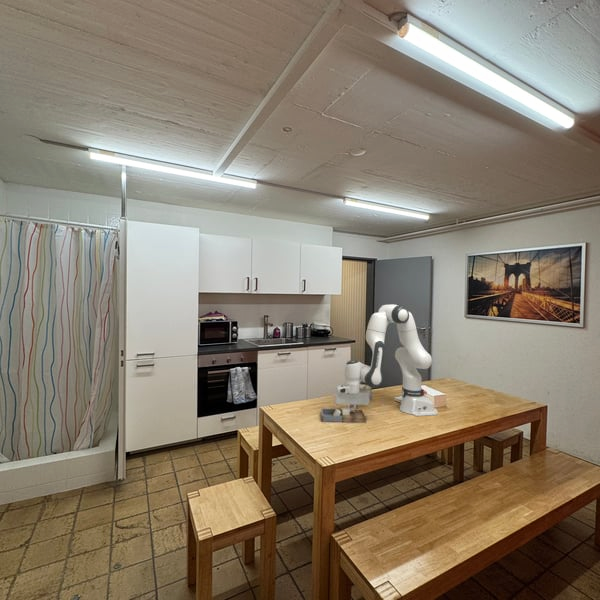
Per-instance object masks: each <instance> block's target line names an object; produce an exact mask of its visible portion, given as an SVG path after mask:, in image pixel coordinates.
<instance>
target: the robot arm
mask: <svg viewBox="0 0 600 600" xmlns="http://www.w3.org/2000/svg"><path fill="white" fill-rule="evenodd" d="M390 323H391V324H393V323H394V324H396V328H397V333H398V334H397V335H398V337H399V338H398V339H399V342H400V343H401V345H402V347H398V348H397V349H396V351H395V353H394V358H395V360H396V361H397V363H398V364H399V366H400V370H401V373H402V387H401V402H400V406H399V410H400V411H401V412H403V413H405V414H407V415H411V416H415V417H422V416H437V415H439V411H438V410H437V409H436V407H435V406H434V403H433V401H432V400H431V399H430V398H428V397H427V396H426V395H427V394H428V391H427V390H425V389H424V388H422V381H423V380H422V375H421V374H420V373H419V371H418V370H419V369H420V370H422V369H423V370H427V369H429V368H430V367H431V366H432V363H433V359H432V356H431V354H430V353H428V351H427V350H426V349H425V348H424V346H423V345H422V342H421V340H420V338H419V334H418V329H417V326H416V325H417V324H416V322H415V318H414V316H413V314H412V312H410V311H409V310H408V308H406V307H405V306H403V305H397V304H395V303H394V304H392V303H391V304H387V303H386V304H385V303H384V304H381V305H380V306H379V307H378V308H377V309H376V311H375V312H374V313H373V314H371V316H370V318H369V321H368V324H367V329H366V332H365V340H366V342H367V344H368V346H369V347H370V349H371V351H372V357H371V364H370V365H367V364H364V363H362V362H360V360H359V359H358V360H356V359H350V360H348V361H347V362H346V363H345V366H344V367H345V368H344V377H345V378H344V379H345V380H344V383H343V384H340V385H337V386H336V391H335V393H334V404H335V405H345V406H347V408H349V410H350V412H354V410H356V409H357V408H356V405H362V406H368V405H370V401H369V395H370V391H369V390H368V389H362V388H360V384H361V383H364V384H365V385H368V386H369V387H371V388H372V389H374V388H375V389H376V388H378V387H380V385H381V384H382V383H383V379H384V376H383V365H384V357H385V348H386V347H385V338H386V334H387V333H386V332H387V327H388V326H389V324H390ZM417 369H418V370H417ZM350 405H354V407H351V406H350Z"/></svg>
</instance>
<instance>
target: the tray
mask: <svg viewBox="0 0 600 600" xmlns="http://www.w3.org/2000/svg"><path fill="white" fill-rule="evenodd" d="M320 409H321V411H320V415H321V420H322V421H321V422H322V423H343V421H342V416H341V415H340V416H334V415H333V414H334V412H335V410H336V408H320ZM338 409H339V410H340V409H341V408H338Z"/></svg>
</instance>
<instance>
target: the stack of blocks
mask: <svg viewBox="0 0 600 600" xmlns="http://www.w3.org/2000/svg"><path fill="white" fill-rule="evenodd" d="M360 388H362V389H368V390H369V391H370V395H369V402H370V401H371V400H372V398H373V391H372V390H373V388H371V387H369V386H368V385H367V384H365V383H364V384H363V383H362V384H361V383H360ZM362 406H363V405H356V408H355V409H359V408H361V407H362ZM349 407H350V408H353V407H354V405H350V406H349Z"/></svg>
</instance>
